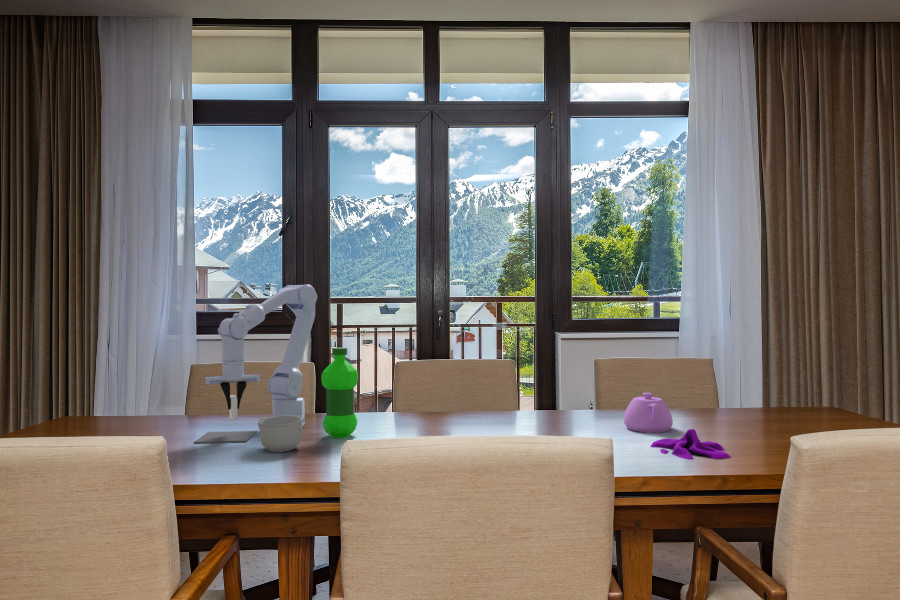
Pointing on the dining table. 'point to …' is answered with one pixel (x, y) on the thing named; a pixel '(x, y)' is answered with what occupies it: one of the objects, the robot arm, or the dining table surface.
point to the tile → (233, 407)
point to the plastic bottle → (339, 395)
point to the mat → (226, 437)
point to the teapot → (648, 414)
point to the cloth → (691, 447)
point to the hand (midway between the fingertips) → (233, 408)
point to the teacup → (280, 432)
